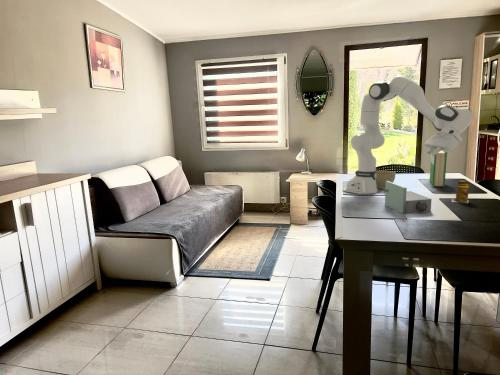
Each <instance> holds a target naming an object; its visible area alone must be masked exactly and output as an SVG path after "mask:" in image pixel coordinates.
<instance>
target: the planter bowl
mask: <svg viewBox="0 0 500 375" xmlns="http://www.w3.org/2000/svg"><path fill="white" fill-rule="evenodd" d="M376 173H377V177H376V186H377V190H378V189H379V190H385V188H386V181H390V182H392V183H395V179H396V174H397V173H396V171H392V170H391V171H390V170H376Z"/></svg>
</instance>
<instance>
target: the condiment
mask: <svg viewBox="0 0 500 375" xmlns="http://www.w3.org/2000/svg"><path fill="white" fill-rule="evenodd" d="M469 190H470V186H469V181H468V180H466V179H465V180H463V179H462V180H458V181H457V186H456V192H455V198H451V202H452V203H462V204H469V200H468V199H469Z"/></svg>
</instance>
